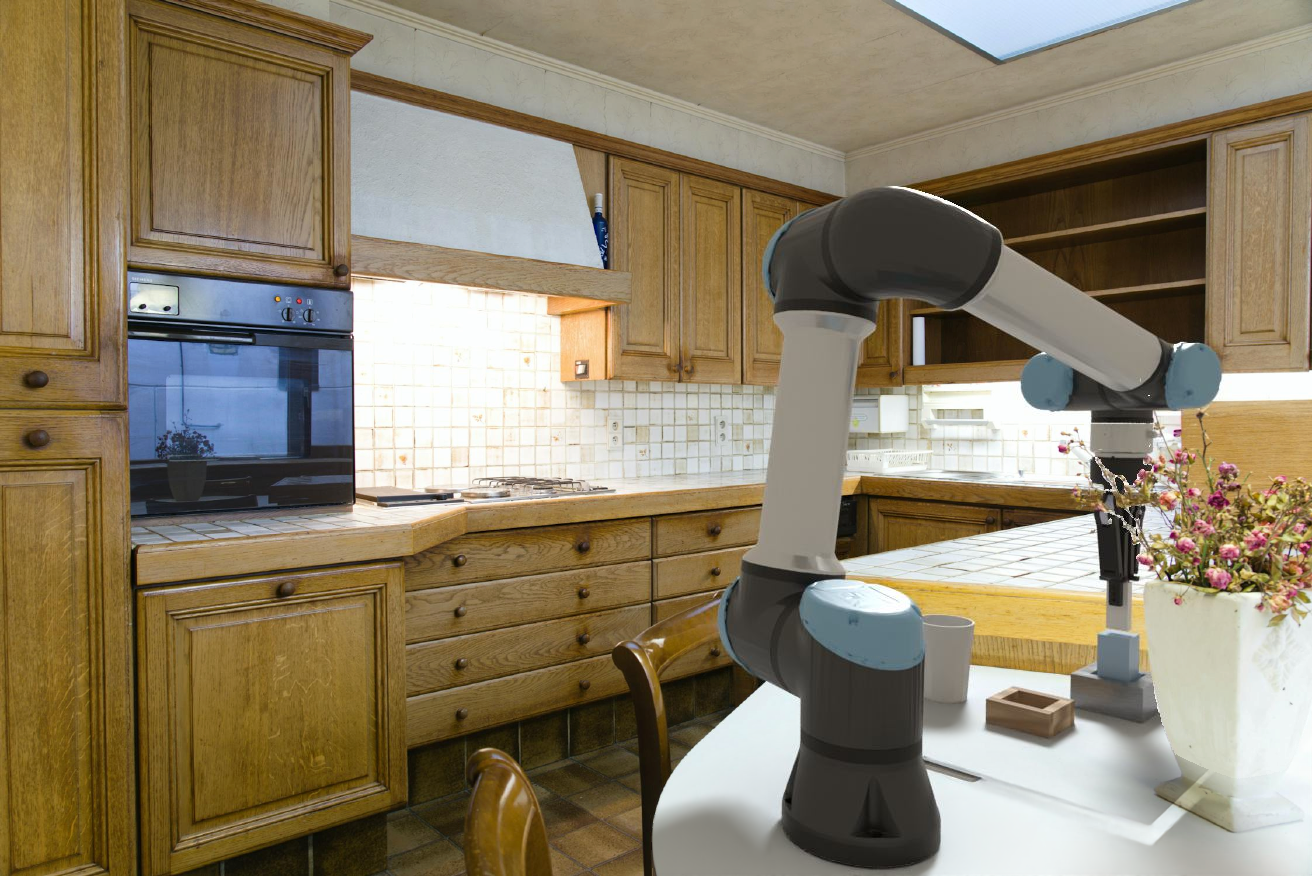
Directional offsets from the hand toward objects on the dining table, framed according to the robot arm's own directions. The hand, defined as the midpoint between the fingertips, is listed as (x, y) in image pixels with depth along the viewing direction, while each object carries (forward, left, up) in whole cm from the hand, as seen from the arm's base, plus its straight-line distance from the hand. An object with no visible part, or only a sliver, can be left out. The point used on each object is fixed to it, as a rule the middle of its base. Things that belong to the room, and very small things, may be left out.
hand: (1118, 628), depth 117 cm
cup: (-13, +18, -12) cm, 26 cm away
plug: (0, 0, -11) cm, 11 cm away
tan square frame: (-15, +5, -11) cm, 20 cm away
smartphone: (-32, +11, -13) cm, 36 cm away
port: (0, 0, -11) cm, 11 cm away
